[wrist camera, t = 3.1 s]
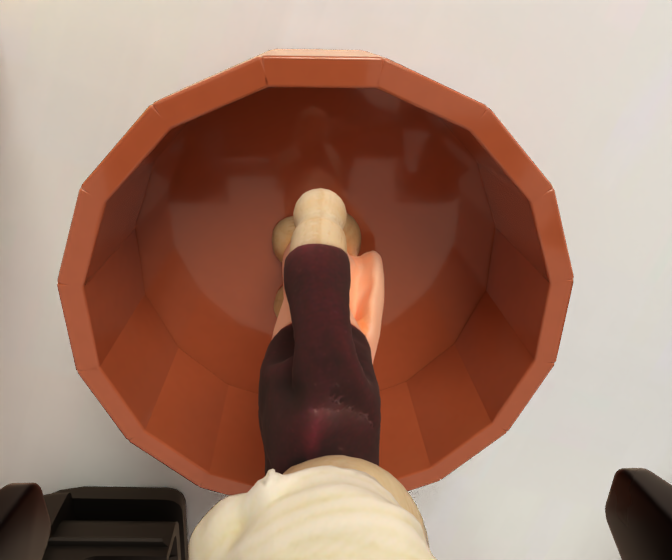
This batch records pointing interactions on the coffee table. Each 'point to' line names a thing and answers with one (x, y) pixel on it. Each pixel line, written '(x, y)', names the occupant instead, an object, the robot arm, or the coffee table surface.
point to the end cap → (116, 524)
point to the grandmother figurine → (319, 412)
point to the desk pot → (266, 270)
